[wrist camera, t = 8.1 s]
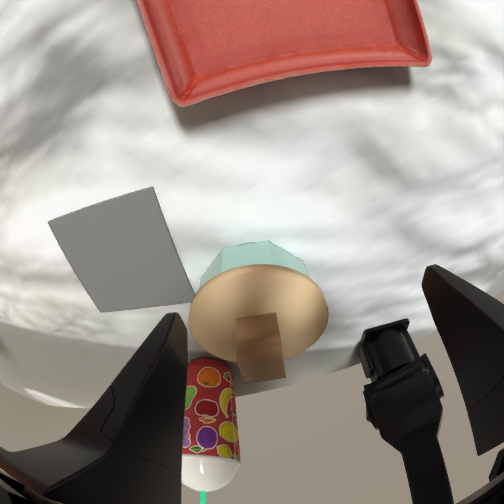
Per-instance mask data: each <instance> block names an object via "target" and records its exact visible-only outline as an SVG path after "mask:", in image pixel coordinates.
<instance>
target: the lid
mask: <svg viewBox="0 0 504 504" xmlns="http://www.w3.org/2000/svg"><path fill="white" fill-rule="evenodd" d="M327 322H328V308H327V305H326V302H325V299H324V296H323V293H322V291H321V289H320V288H319V287H318V285H317V284H316V283H315V282H314V281H313V280H312V279H311V278H309V277H308V276H306V275H305V274H303V273H301V272H299V271H297V270H294V269H291V268H288V267H284V266H279V265H271V264H253V265H245V266H240V267H236V268H232V269H229V270H227V271H224V272H222V273H220V274H218V275H216V276H214V277H213V278H211V279H210V280H208V281H207V282H206V283H205V284H203V285H202V286H201V288H200V289H199V290H198V291H197V293H196V294H195V296H194V298H193V300H192V303H191V308H190V313H189V328H190V331H191V334H192V336H193V337H194V339H195V340H196V342H197V343H198V344H199V345H200V346H201V347H202V348H203V349H205V350H206V351H208V352H209V353H211V354H212V355H214V356H216V357H219V358H221V359H224V360H227V361H231V362H235V363H237V366H238V368H239V370H240V372H241V374H242V377H243V379H244V381H245V383H249V382H258V381H266V380H273V379H280V378H286V375H285V367H284V360H285V359H288V358H291V357H293V356H295V355H297V354H299V353H301V352H303V351H305V350H306V349H307V348H309V347H310V346H311V345H313V344H314V343H315V342H316V341H317V340H318V339H319V337H320V336H321V335H322V333H323V332H324V330H325V328H326V325H327Z"/></svg>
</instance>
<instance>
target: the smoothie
mask: <svg viewBox="0 0 504 504" xmlns="http://www.w3.org/2000/svg"><path fill="white" fill-rule="evenodd" d="M239 467H241V461H240V450H239V439H238V427H237V416H236V404H235V391H234V378H233V375H232V373H231V372H230V371H229V367H228V366H227V365H226V364H224V363H223V362H221V361H218V360H215V359H208V358H201V359H196V360H193V361H191V362H190V363H189V364H188V376H187V387H186V400H185V414H184V429H183V449H182V473H181V474H182V482H181V483H182V484H184V485H186V486H187V487H189V488H191V489H194V490H196V491H200V504H206V492H211V491H215V490H218V489H221V488H223V487H225V486H226V485H228V484H229V483H230V482H231V481H232V480H233V478H234V477H235V475H236V473H237V471H238V468H239Z"/></svg>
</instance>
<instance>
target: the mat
mask: <svg viewBox="0 0 504 504" xmlns="http://www.w3.org/2000/svg"><path fill="white" fill-rule="evenodd" d="M48 224H49V226H50V228H51V230H52V232H53V234H54V236H55V238H56V240H57V242H58V244H59V246H60V248H61V249H62V251H63V253H64V255H65V257H66V258H67V260H68V262H69V264H70V265H71V267H72V269H73V271H74V272H75V274H76V276H77V277H78V279H79V280H80V282H81V284H82V285H83V287H84V288H85V290H86V292H87V293H88V295H89V296H90V298H91V299H92V301H93V302H94V304H95V305H96V307H97V308H98V309H99V311H100V312H110V311H120V310H130V309H139V308H148V307H156V306H165V305H173V304H180V303H188V302H192V300H193V298H194V296H195V294H194V291H193V289H192V287H191V284H190V282H189V280H188V277H187V275H186V273H185V270H184V268H183V265H182V263H181V260H180V258H179V255H178V253H177V250H176V248H175V245H174V243H173V240H172V238H171V235H170V232H169V230H168V227H167V224H166V222H165V219H164V216H163V214H162V211H161V208H160V205H159V202H158V200H157V197H156V194H155V191H154V188H153V187H149V188H146V189H142V190H139V191H135V192H132V193H128V194H125V195H122V196H119V197H115V198H112V199H109V200H106V201H103V202H100V203H97V204H94V205H91V206H88V207H85V208H82V209H80V210H77V211H74V212H71V213H69V214H66V215H63V216H61V217H58V218H55V219H53V220H50V221H49V222H48Z"/></svg>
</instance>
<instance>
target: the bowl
mask: <svg viewBox="0 0 504 504" xmlns="http://www.w3.org/2000/svg"><path fill="white" fill-rule="evenodd" d="M253 264H271V265H279V266H284V267H288V268H291V269H294V270H297V271H299V272H301V273H303V274H305V275H306V276H308V273H307V270H306V267H305V264H304V261H303V260H301V259H300V258H298V257H296V256H294V255H293V254H291V253H289V252H288V251H286V250H285V249H283V248H281V247H279V246H277V245H276V244H274V243H272V242H271V241H269V240H268V241H262V242H252V243H245V244H240V245H237V246H234V247H229V248H223V249H222V250H221V252H220V253H219V254H218V256H217V257H216V258H215V260H214V261H213V263H212V264H211V265H210V267H209V268H208V269H207V271H206V272H205V274H204V275H203V276H202V278H201V282H200V288H201V286H202V285H203V284H205V283H206V282H207V281H208V280H210V279H211V278H213V277H214V276H216V275H218V274H220V273H222V272H224V271H227V270H229V269H232V268H236V267H240V266H245V265H253ZM308 277H309V276H308ZM200 288H199V289H200Z"/></svg>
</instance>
